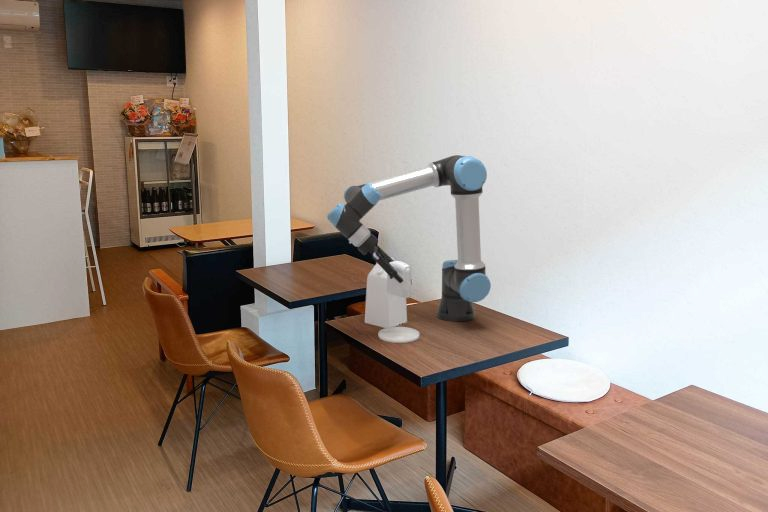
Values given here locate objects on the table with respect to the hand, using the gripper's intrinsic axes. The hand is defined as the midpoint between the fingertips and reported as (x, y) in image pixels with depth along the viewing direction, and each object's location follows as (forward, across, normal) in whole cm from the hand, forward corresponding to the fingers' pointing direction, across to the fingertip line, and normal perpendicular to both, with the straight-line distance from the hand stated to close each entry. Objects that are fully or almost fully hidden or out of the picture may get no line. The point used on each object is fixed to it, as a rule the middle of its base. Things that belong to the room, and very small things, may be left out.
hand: (408, 284), depth 235 cm
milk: (+8, -18, -20) cm, 28 cm away
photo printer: (+1, 0, -5) cm, 5 cm away
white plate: (+12, -1, -16) cm, 20 cm away
